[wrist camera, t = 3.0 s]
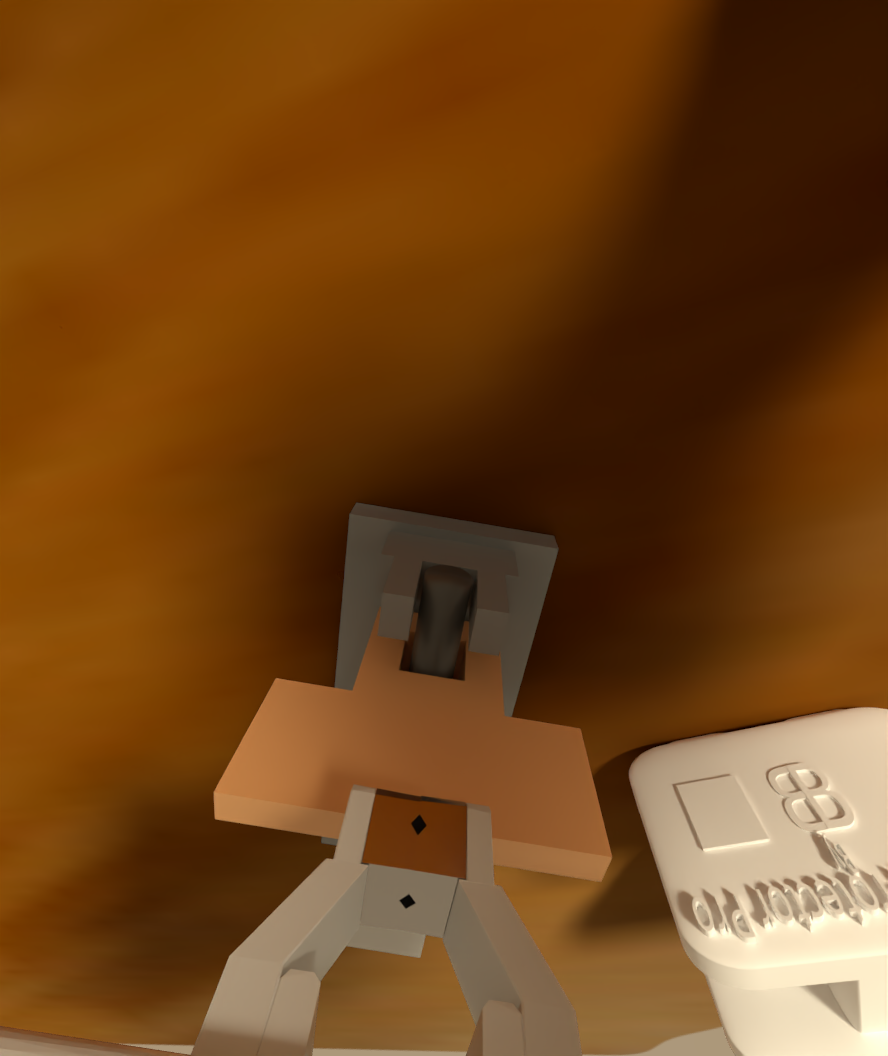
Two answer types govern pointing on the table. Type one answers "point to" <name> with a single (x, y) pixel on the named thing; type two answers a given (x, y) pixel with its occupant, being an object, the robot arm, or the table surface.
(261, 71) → the table surface
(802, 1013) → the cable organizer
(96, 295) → the table surface
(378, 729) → the orange piece
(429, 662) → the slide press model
